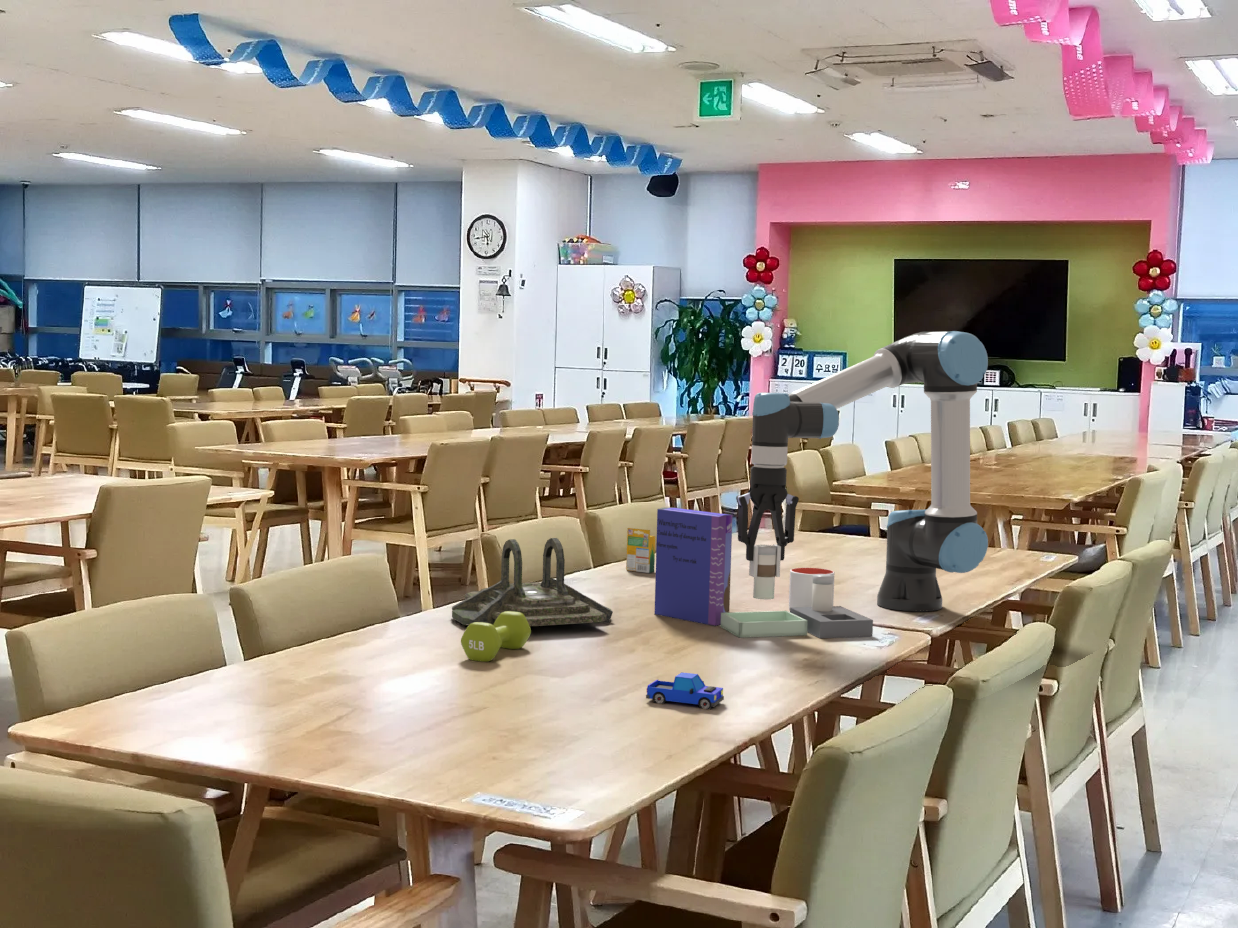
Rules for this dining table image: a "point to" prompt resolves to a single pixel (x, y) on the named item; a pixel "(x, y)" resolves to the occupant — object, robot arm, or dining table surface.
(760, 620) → the parts tray
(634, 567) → the crayon box
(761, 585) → the cylinder
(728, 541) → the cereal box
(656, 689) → the toy car
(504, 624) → the dumbbell
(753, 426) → the robot arm
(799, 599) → the cup
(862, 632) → the fuse holder block
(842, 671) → the dining table surface
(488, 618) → the metal base with loops
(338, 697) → the dining table surface
